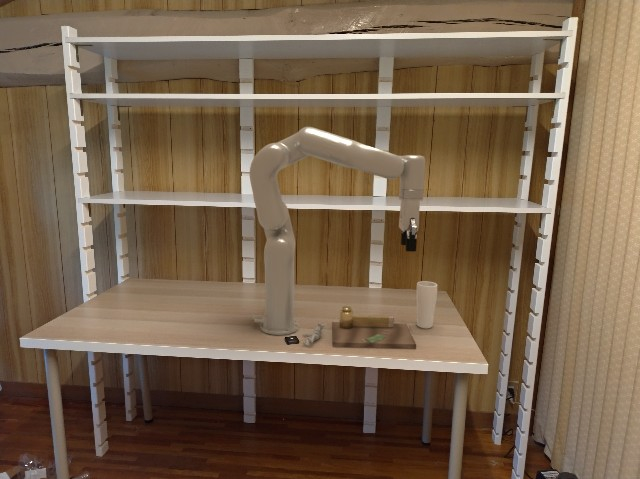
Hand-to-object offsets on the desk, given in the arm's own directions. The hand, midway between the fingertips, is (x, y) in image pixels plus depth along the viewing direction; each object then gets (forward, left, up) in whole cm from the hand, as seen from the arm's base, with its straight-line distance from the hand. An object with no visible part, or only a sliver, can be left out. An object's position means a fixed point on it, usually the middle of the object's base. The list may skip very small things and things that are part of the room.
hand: (408, 248), depth 149 cm
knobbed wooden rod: (-13, -2, -26) cm, 29 cm away
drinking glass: (+8, +4, -28) cm, 29 cm away
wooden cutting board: (-11, -7, -28) cm, 31 cm away
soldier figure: (-30, -10, -28) cm, 42 cm away
